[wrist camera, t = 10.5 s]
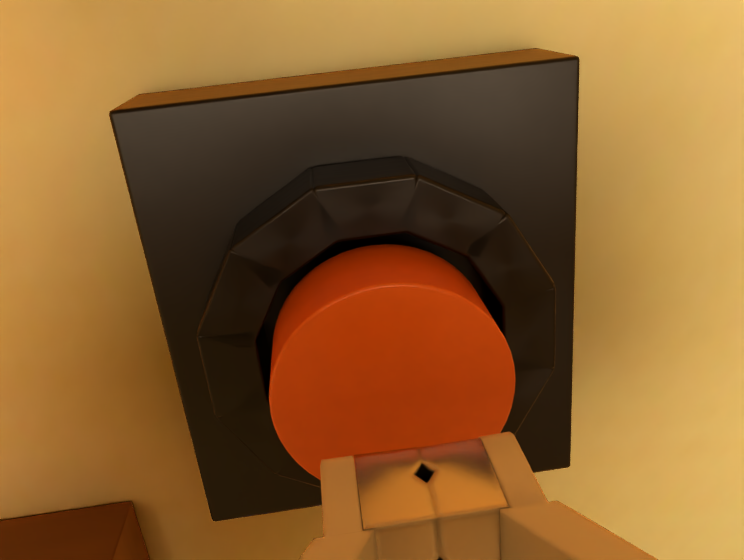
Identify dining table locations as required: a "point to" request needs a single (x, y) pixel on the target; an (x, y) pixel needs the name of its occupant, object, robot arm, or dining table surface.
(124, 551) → the dial panel
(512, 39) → the dining table surface
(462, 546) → the robot arm
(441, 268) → the round orange button
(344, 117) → the button base
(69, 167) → the dining table surface
